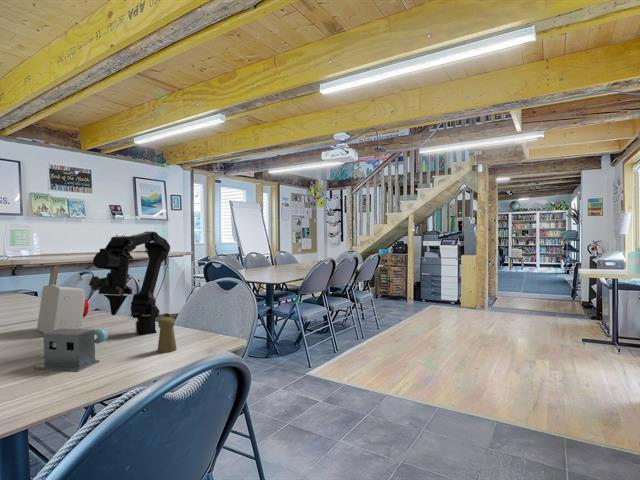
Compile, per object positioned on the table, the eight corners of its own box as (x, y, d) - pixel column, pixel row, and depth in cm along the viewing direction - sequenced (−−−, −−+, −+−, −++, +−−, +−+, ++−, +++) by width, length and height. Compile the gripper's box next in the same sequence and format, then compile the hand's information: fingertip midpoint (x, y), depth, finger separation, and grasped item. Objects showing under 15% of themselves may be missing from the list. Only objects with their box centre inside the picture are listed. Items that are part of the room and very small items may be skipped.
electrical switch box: (92, 333, 159) (98, 286, 162) (52, 336, 147) (59, 285, 149) (75, 329, 167) (81, 284, 169) (36, 331, 155) (43, 283, 157)
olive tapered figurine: (180, 348, 129) (179, 316, 128) (168, 353, 123) (167, 320, 123) (166, 346, 130) (165, 315, 130) (153, 352, 125) (152, 319, 125)
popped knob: (95, 341, 123) (95, 328, 123) (107, 341, 122) (107, 328, 122) (76, 348, 115) (76, 334, 115) (89, 349, 115) (88, 334, 115)
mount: (57, 359, 118) (56, 328, 118) (99, 361, 116) (98, 329, 116) (34, 368, 110) (33, 335, 110) (78, 371, 108) (77, 336, 108)
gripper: (103, 270, 142) (97, 312, 139) (84, 267, 124) (77, 315, 121) (134, 272, 144) (129, 313, 142) (121, 269, 126) (115, 317, 124)
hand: (113, 315), depth 132 cm, fingers closed
